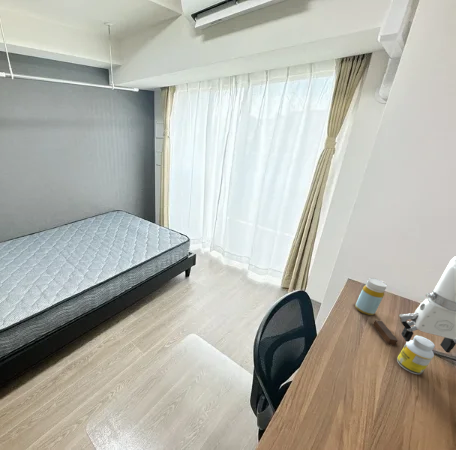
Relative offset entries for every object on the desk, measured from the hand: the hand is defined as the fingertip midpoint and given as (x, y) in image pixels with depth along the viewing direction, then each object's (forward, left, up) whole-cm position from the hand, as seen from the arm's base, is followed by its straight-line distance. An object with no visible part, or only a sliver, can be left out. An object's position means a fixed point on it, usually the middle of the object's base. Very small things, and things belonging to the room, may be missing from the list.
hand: (424, 343), depth 79 cm
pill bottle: (0, 0, -11) cm, 11 cm away
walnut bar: (+3, -14, -11) cm, 18 cm away
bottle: (+5, -28, -11) cm, 30 cm away
